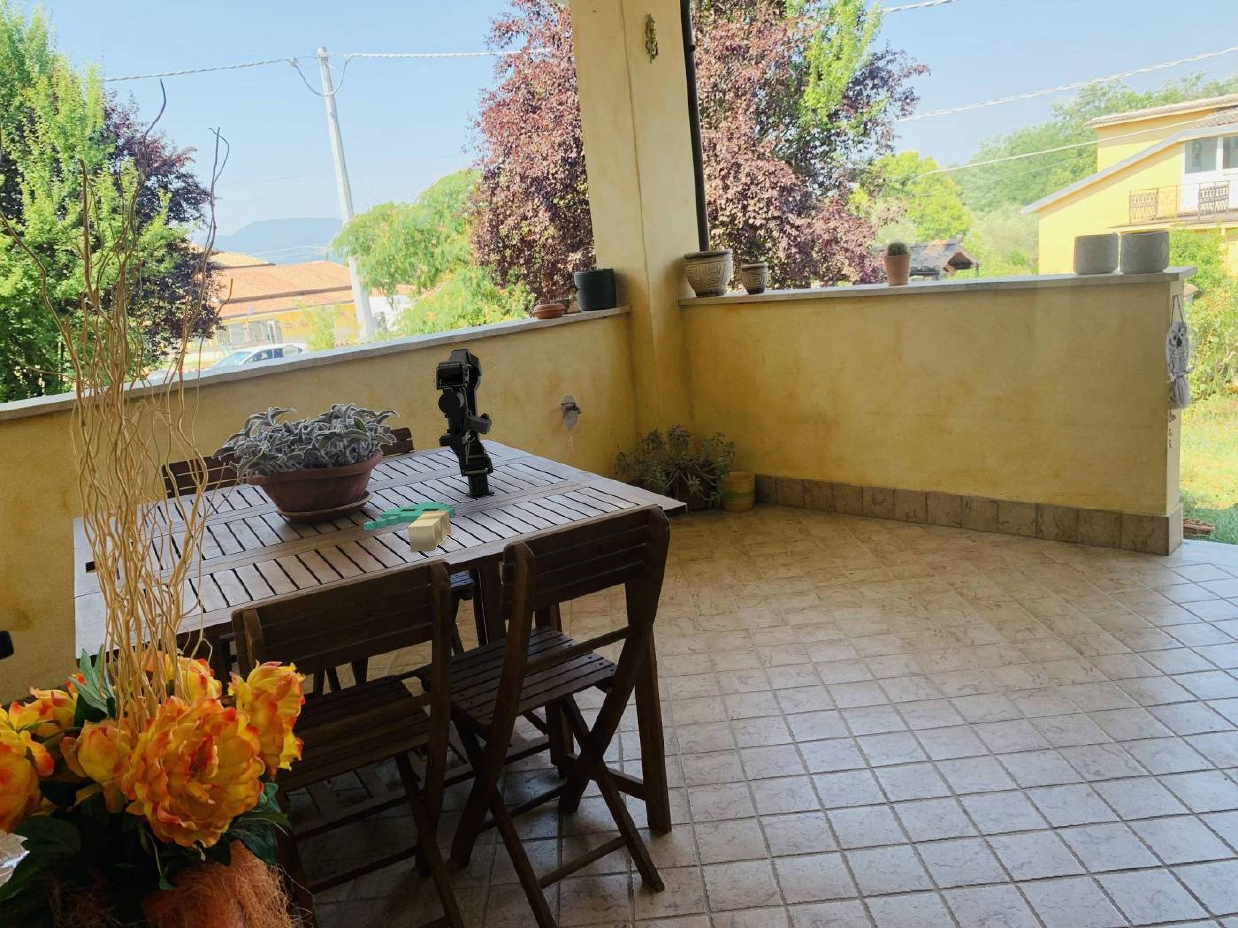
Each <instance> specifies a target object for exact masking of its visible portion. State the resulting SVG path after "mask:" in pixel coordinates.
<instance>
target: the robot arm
mask: <svg viewBox="0 0 1238 928" xmlns="http://www.w3.org/2000/svg"><path fill="white" fill-rule="evenodd" d="M435 368H436V369H435V376H436V377H435V381H436V383H435V384H436V385H435V387H436V391H438V390H439V391H441V390H442V394H441V395H440V396H439V398H438V401H437V406H438V408H439V410H440V411H441V412H442V413H444V419H446V420H447V425H448V426H447V427H448V428H446V433H443V434H442V435H441V436H440V437H439V439H438V443H439V447H441V448H442V447H449V448H450V449H451V451H452V452H453V453H454V456H455V457H457V459H458V466H459V470H460V471H459V472H460V475H461V478H464V477H466V478H467V483H468V490H469V492H466V493H464V495H465V496H467V497H470V498H473V499H478V498H481V497H485V496H489V495H494V494H495V491H493V490H490V488H489V487H490V486H489V480H488V479H489V478H488V475H491V474H493V473H494V472H495V471H494V465H493V461H492V458H491V457H490V455H489V453H487V448H486V447H485V446H484V445H483V443H482V441H481V435H484V436H485V435H487V434H489V433H490V431H491V430H490V429H491V426H492V425H493V422H492V419H491V417H490V414H489V413H486V412H484V413H482V414H481V415H480V416H479V411H478V401H477V391H478V389H479V388H480V385H481V383H482V382H481V377H482V376H483V369H482V365H481V361H480V359H479V357H477V356H476V355H474V354H473V353H471V350H470V349H469V348H457V349H453V350H451V353H450V356H449V358H448V359H447V360H443V361H439V362H438V364H437V366H436V367H435ZM480 434H481V435H480Z"/></svg>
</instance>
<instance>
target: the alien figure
mask: <svg viewBox="0 0 1238 928" xmlns="http://www.w3.org/2000/svg"><path fill="white" fill-rule="evenodd" d="M432 511H448V513H449V519H451V518H452V517H453V516H452V515H453V514H455V515H456V509H455V508H454V507H453V508H452V505H448V504H447V503H444V501H427V502H426V501H424V502H420V503H417V504H410V505H408V506H399V507H398V508H396V509H387V510H385V511H384V512H382V513H381V514H380V518H378V519H377V520H375V521H373V520H372V521H366V522H364V523H363V529H364V531H373V530H375V529H379V528H386V527H387V526H396V525H398V524H400V523H413V522H414V521H415V520H417V519H418V518H419V517H420V516H421V515H422V514H423V513H425V512H432ZM451 516H452V517H451ZM450 517H451V518H450Z"/></svg>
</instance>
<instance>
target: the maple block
mask: <svg viewBox="0 0 1238 928" xmlns="http://www.w3.org/2000/svg"><path fill="white" fill-rule="evenodd" d="M450 519H451V518H449V513H448V511H432V512H425V513H423V514H422V515H421V516H420V517H419V518H418V519H417V520H415V521H414V522H411V524H409V525H408V526H407V532H408V540H409V545H410V551H411V552H421V551H435V549H436V547H437V546H438V545H439V544H440V543H441V542H442V541H443V540H444V538H445V537H446V536H447V535H449V534H450V533H451V534H452V528H451V526H452V525H451V521H450ZM451 534H450V535H451ZM450 535H449V536H450ZM444 541H445V540H444ZM444 541H443V542H444ZM436 550H437V549H436Z"/></svg>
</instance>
